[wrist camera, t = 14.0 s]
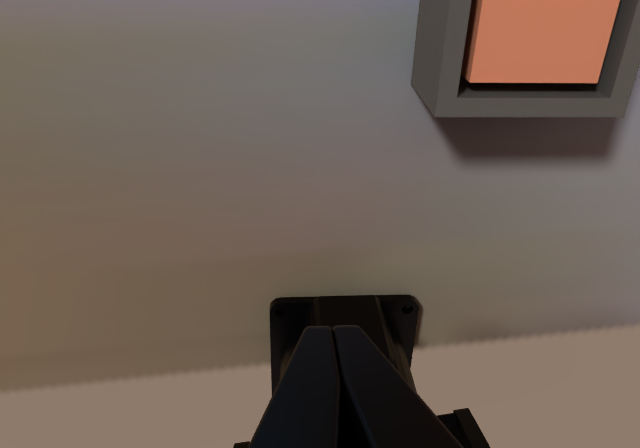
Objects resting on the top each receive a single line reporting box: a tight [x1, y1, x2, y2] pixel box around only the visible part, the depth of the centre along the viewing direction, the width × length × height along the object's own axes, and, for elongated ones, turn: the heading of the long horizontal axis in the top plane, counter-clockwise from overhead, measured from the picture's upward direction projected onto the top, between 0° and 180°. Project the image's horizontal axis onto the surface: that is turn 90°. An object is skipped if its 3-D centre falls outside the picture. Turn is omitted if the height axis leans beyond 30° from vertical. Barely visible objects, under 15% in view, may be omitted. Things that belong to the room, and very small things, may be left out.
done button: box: [461, 0, 620, 83], centre depth 17 cm, size 4×4×2 cm
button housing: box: [411, 0, 640, 117], centre depth 17 cm, size 6×6×4 cm
